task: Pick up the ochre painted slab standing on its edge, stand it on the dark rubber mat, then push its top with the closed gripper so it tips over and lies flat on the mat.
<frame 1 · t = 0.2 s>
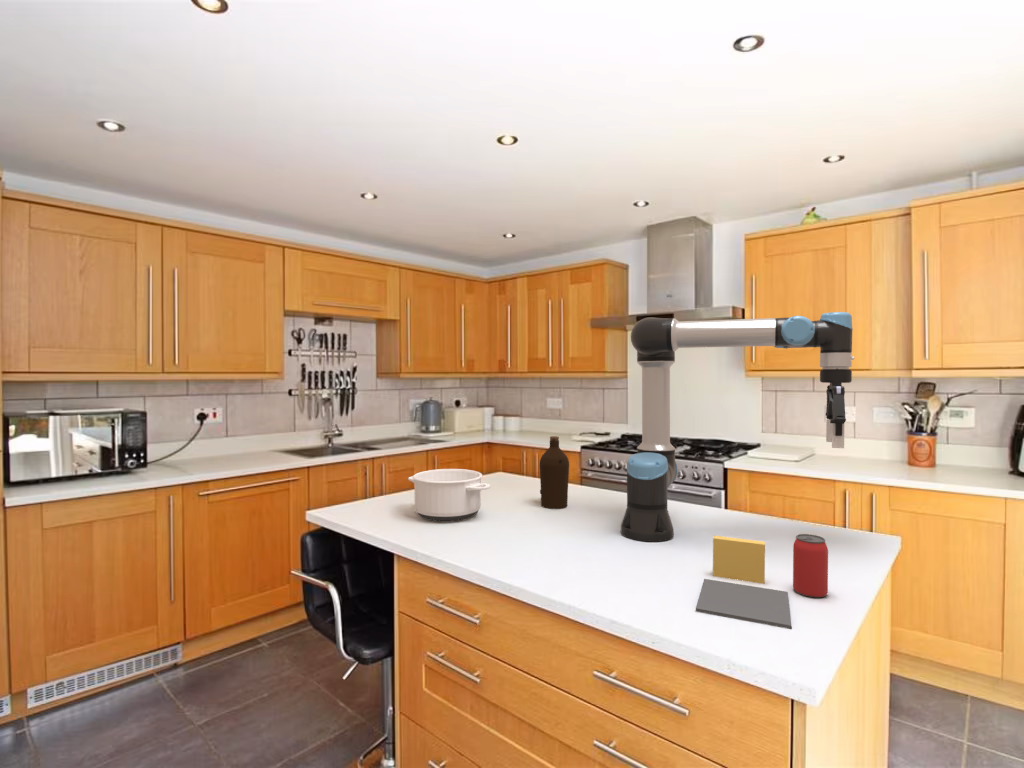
hand: (834, 445, 147), 28 cm above the counter, tool pointing down, fingers open, 13 cm apart
mat: (743, 602, 110), on the counter
beer can: (810, 593, 115), on the counter
pot: (447, 515, 179), on the counter
slab: (738, 578, 123), on the counter
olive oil: (554, 506, 191), on the counter
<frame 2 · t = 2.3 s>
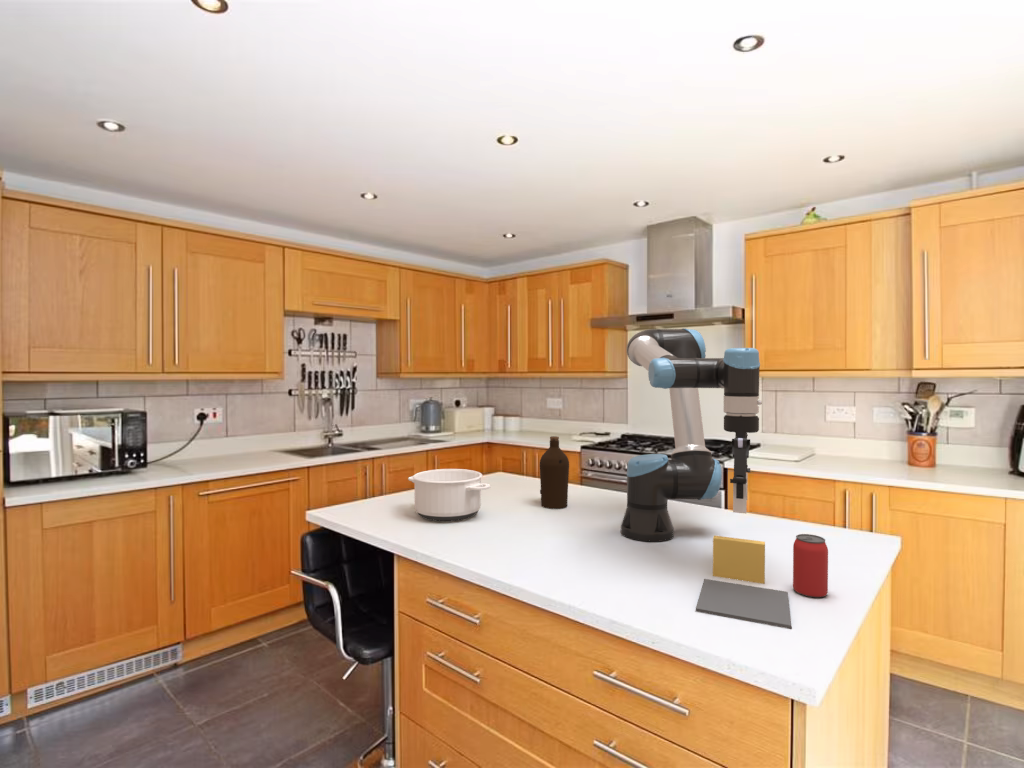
hand: (740, 505, 123), 17 cm above the counter, tool pointing down, fingers open, 13 cm apart
nothing on the counter moved.
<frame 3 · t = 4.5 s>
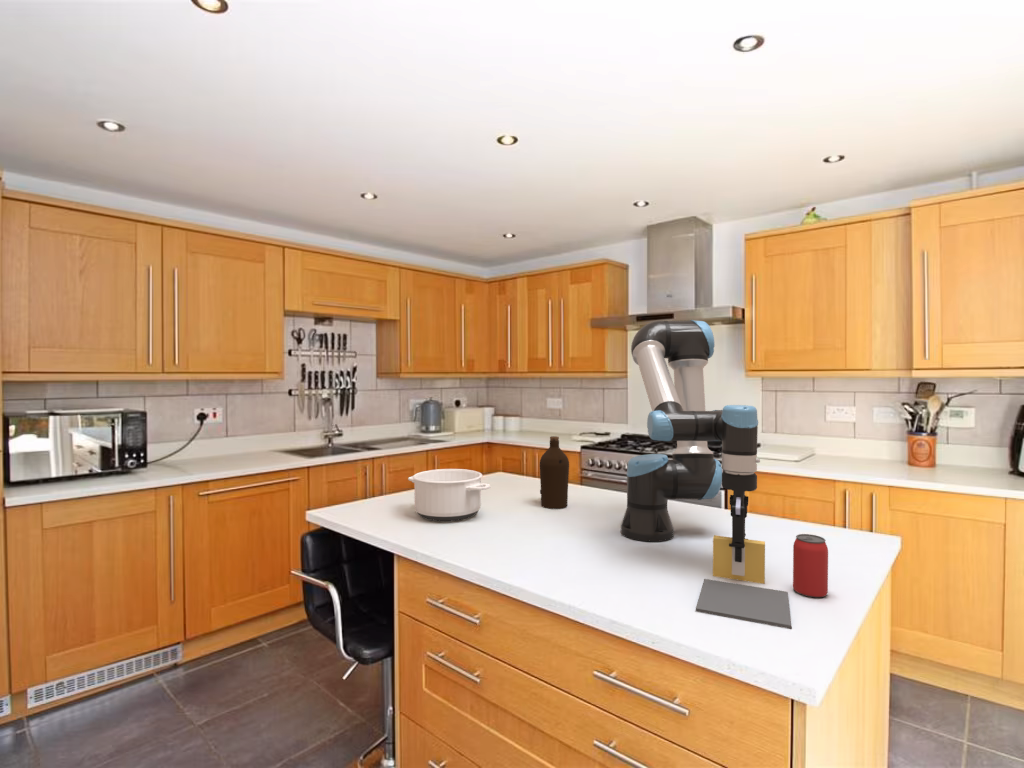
hand: (738, 572, 123), 1 cm above the counter, tool pointing down, fingers closed on slab, 2 cm apart
slab: (738, 578, 123), on the counter, touching gripper
everything else where it was.
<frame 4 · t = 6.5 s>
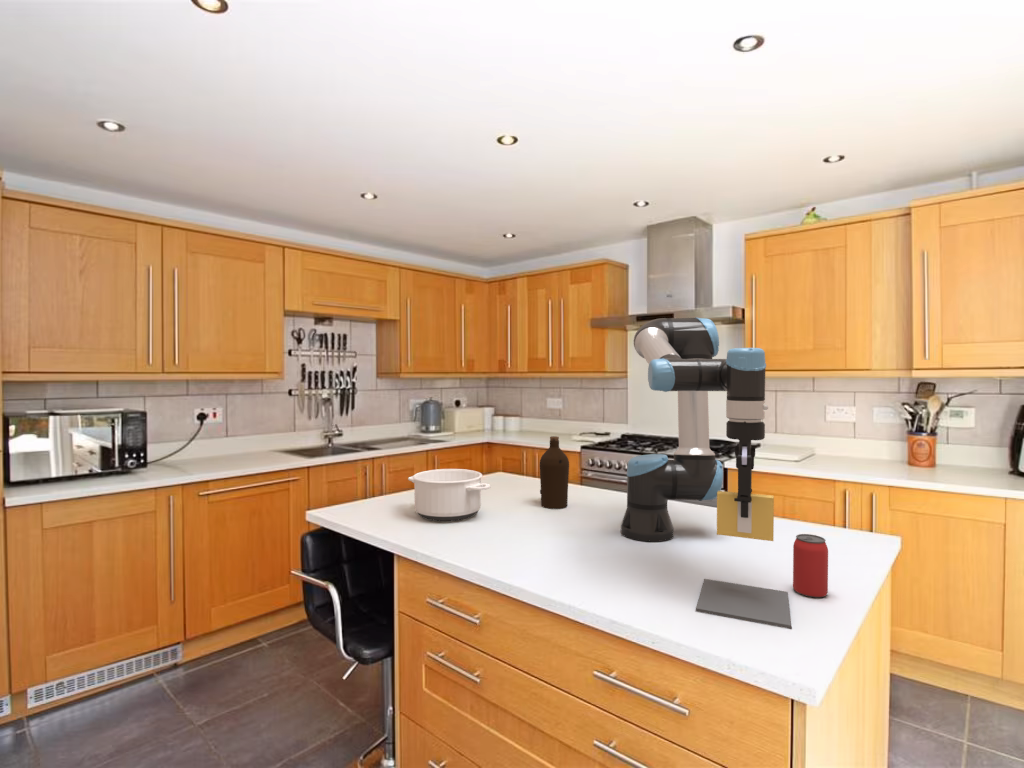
hand: (744, 529, 113), 14 cm above the counter, tool pointing down, fingers closed on slab, 2 cm apart
slab: (744, 536, 113), point 13 cm above the counter, touching gripper
everything else where it was.
when the fingers open (3 cm above the counter, at t = 8.6 s): slab stays where it is, resting on mat.
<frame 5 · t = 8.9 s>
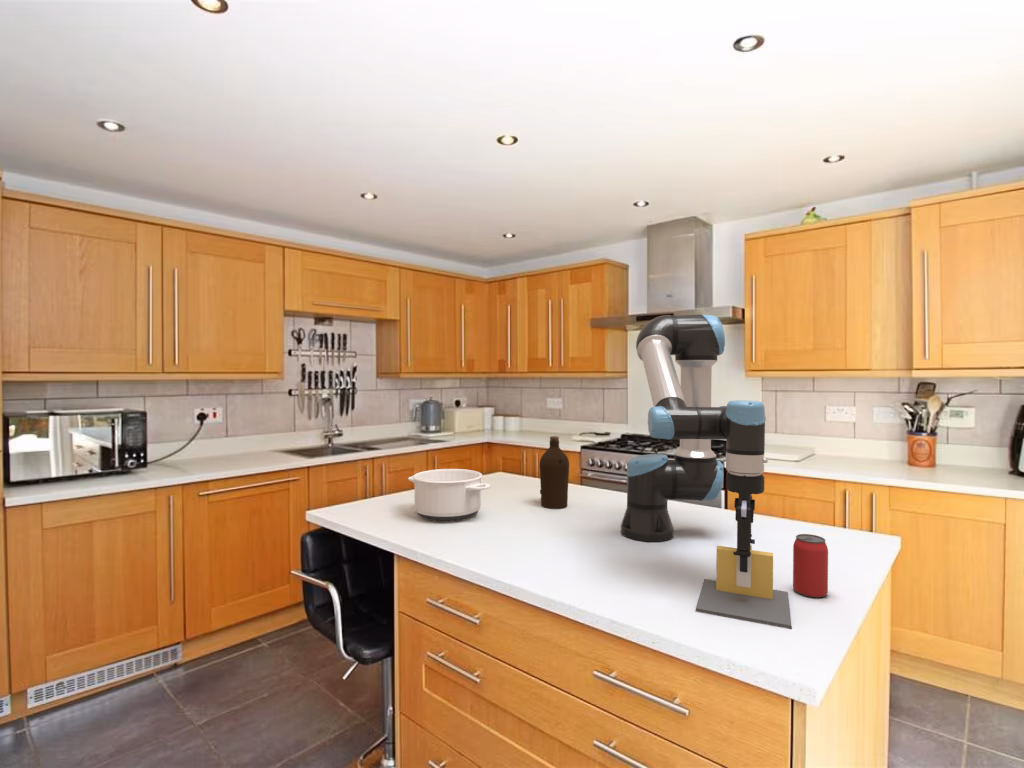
hand: (744, 579, 113), 3 cm above the counter, tool pointing down, fingers open, 7 cm apart
slab: (744, 592, 114), point 1 cm above the counter, touching mat
everything else where it was.
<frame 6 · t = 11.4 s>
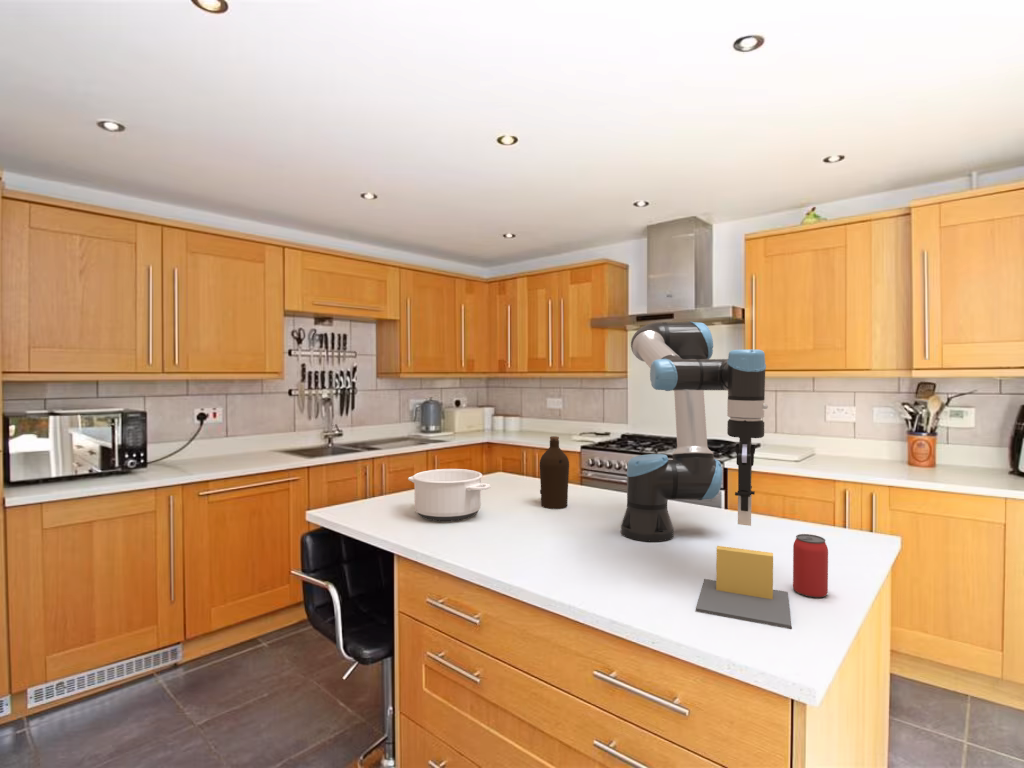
hand: (744, 524, 118), 14 cm above the counter, tool pointing down, fingers closed
nothing on the counter moved.
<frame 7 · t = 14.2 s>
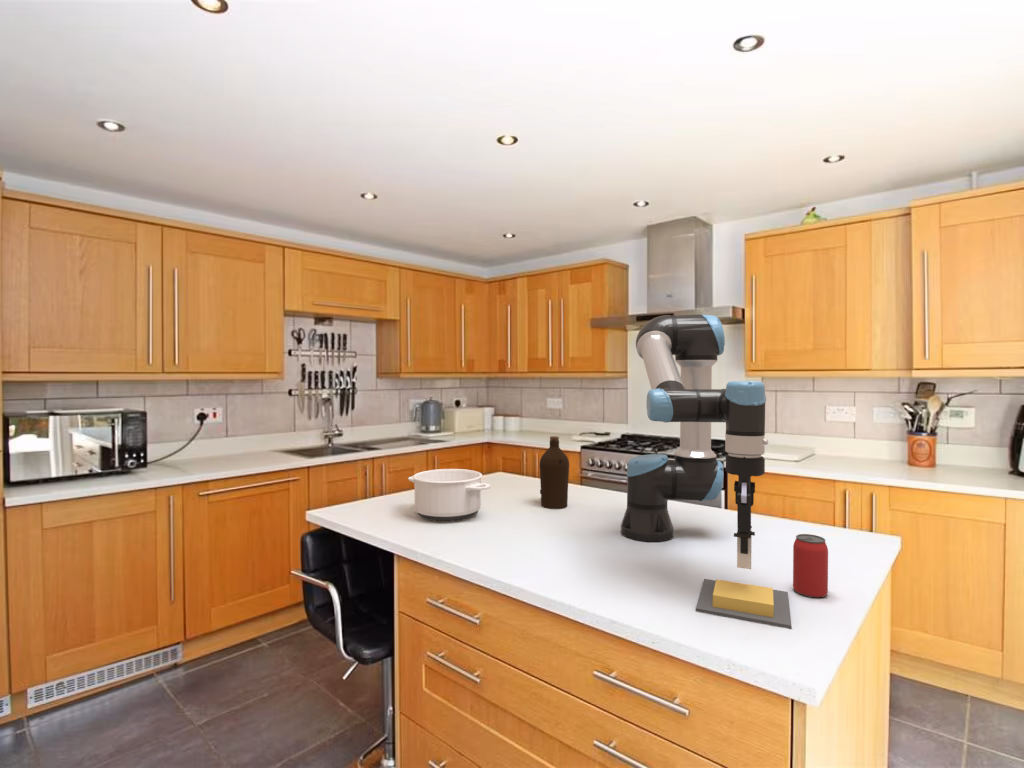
hand: (744, 567, 111), 7 cm above the counter, tool pointing down, fingers closed
slab: (743, 589, 112), point 2 cm above the counter, tilted 90°, touching mat
everything else where it was.
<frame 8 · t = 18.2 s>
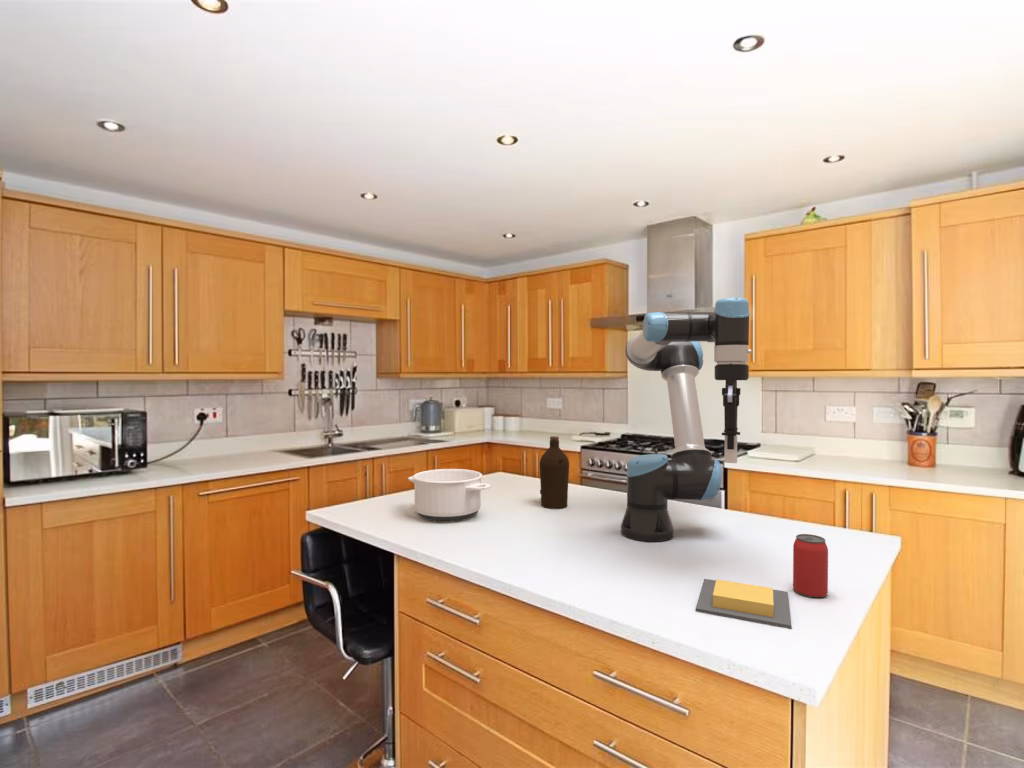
hand: (730, 462, 126), 26 cm above the counter, tool pointing down, fingers closed
nothing on the counter moved.
at the end: slab tilted 90°; slab inside the target area (2.7 cm from its centre), point 1.8 cm above the counter; the gripper is holding nothing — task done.
